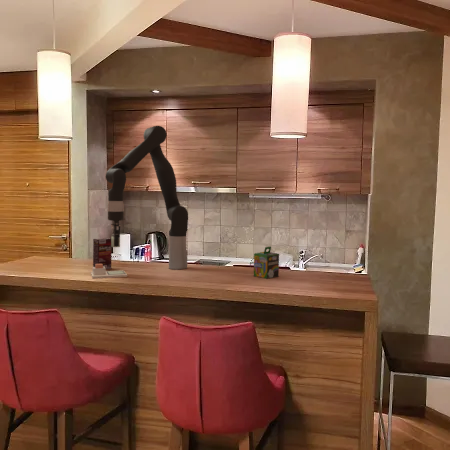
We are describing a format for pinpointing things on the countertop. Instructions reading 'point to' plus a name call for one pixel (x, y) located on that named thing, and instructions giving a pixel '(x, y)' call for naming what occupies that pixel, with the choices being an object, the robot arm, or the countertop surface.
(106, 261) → the supplement box
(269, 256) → the chalk box
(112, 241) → the cylinder
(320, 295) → the countertop surface
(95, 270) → the button housing
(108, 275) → the white flat panel
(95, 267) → the button
